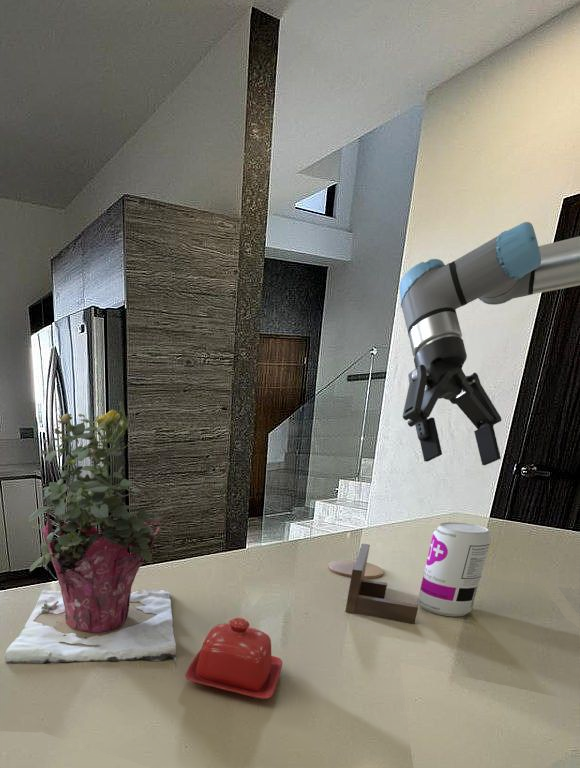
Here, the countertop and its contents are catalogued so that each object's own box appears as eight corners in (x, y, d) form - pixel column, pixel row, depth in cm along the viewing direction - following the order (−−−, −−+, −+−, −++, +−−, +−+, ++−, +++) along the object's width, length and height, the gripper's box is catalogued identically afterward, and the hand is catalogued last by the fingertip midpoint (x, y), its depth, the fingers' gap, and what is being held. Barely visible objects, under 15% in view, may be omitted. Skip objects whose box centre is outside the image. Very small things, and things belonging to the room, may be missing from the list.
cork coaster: (383, 566, 108) (384, 564, 107) (381, 582, 99) (381, 579, 98) (331, 559, 113) (332, 557, 112) (324, 573, 104) (324, 570, 103)
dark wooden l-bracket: (414, 589, 95) (423, 550, 92) (414, 624, 80) (424, 579, 77) (355, 580, 100) (361, 543, 97) (345, 611, 85) (352, 569, 82)
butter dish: (284, 665, 68) (291, 610, 65) (270, 709, 58) (277, 647, 55) (205, 648, 72) (208, 597, 69) (180, 687, 63) (182, 629, 60)
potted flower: (43, 593, 93) (29, 401, 81) (169, 594, 93) (174, 401, 80) (4, 662, 69) (-25, 402, 56) (176, 665, 68) (186, 401, 55)
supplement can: (423, 614, 84) (443, 531, 78) (412, 597, 91) (429, 520, 86) (477, 620, 81) (501, 535, 76) (461, 602, 89) (482, 523, 83)
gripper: (467, 369, 92) (492, 472, 89) (365, 353, 85) (388, 466, 81) (508, 343, 85) (537, 453, 82) (400, 323, 78) (427, 445, 74)
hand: (463, 460), depth 81 cm, fingers open, 13 cm apart
